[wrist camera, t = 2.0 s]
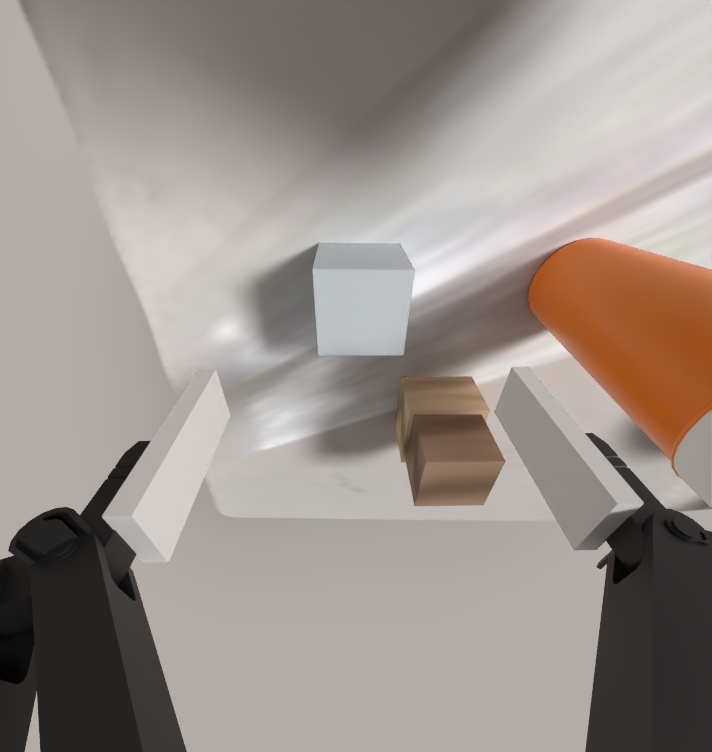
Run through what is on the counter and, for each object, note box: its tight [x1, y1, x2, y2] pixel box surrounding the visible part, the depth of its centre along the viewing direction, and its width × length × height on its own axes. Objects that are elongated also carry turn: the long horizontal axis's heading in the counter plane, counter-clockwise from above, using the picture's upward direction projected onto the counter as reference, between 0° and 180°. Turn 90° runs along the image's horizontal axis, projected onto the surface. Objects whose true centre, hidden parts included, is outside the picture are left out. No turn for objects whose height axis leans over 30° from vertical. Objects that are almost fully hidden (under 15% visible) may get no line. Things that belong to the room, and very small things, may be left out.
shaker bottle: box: [528, 238, 712, 508], centre depth 17 cm, size 9×9×20 cm
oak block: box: [395, 377, 490, 462], centre depth 31 cm, size 7×7×5 cm
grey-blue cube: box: [312, 243, 415, 356], centre depth 22 cm, size 6×6×6 cm
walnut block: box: [405, 414, 505, 506], centre depth 27 cm, size 6×6×5 cm
